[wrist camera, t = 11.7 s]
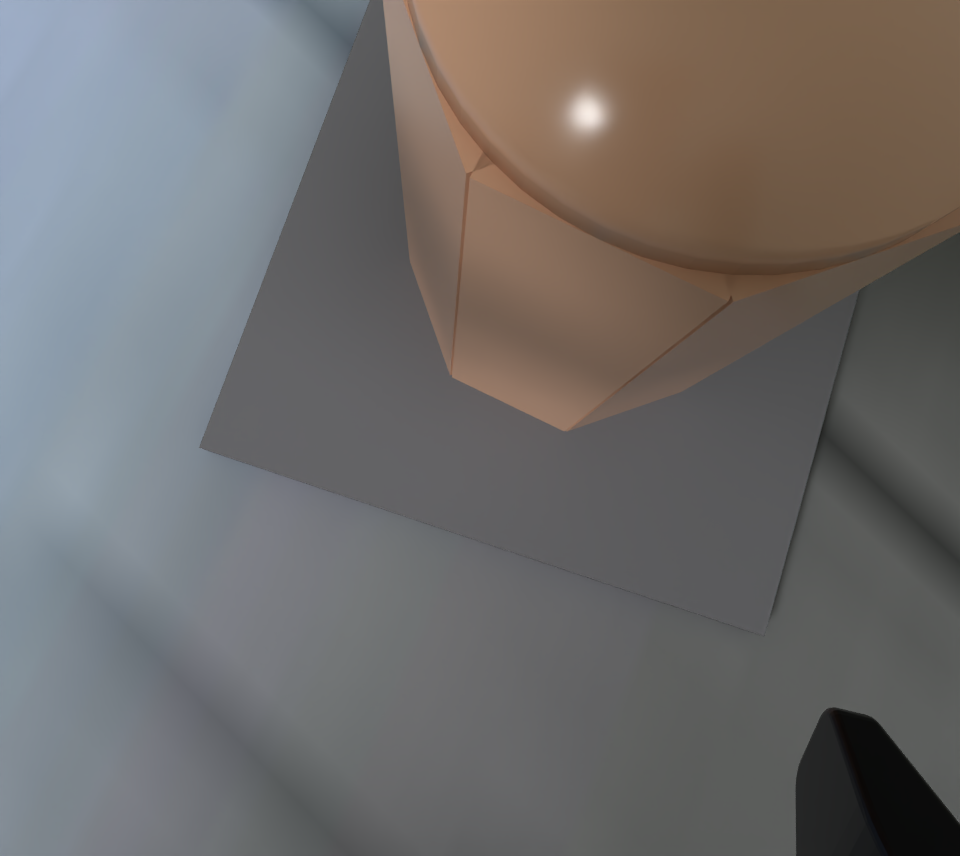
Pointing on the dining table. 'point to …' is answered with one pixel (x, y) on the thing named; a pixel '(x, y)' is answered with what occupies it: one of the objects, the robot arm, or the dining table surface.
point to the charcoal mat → (496, 425)
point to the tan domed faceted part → (661, 179)
